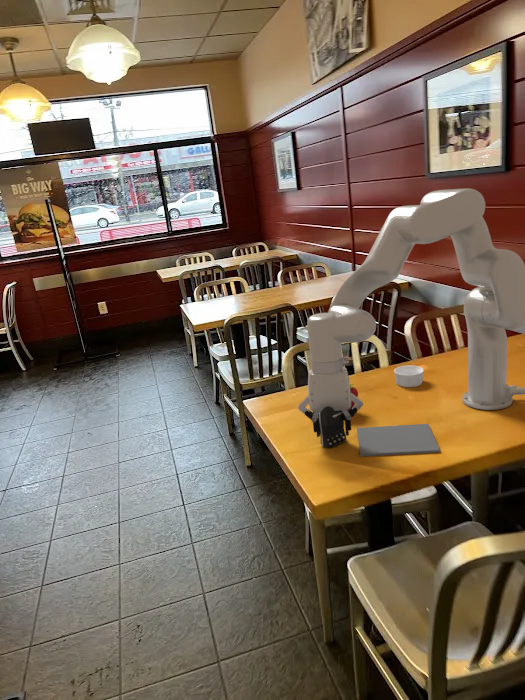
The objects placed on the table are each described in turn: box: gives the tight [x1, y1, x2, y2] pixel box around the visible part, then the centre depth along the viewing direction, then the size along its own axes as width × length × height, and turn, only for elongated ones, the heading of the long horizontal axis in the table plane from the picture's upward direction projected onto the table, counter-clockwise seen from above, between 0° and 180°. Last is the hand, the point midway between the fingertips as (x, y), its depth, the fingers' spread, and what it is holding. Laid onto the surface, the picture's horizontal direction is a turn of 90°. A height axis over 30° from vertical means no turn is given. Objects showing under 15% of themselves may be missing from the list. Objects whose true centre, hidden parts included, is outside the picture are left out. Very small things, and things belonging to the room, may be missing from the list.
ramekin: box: [393, 364, 425, 388], centre depth 161 cm, size 9×9×4 cm
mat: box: [356, 423, 441, 457], centre depth 127 cm, size 18×14×1 cm
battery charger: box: [318, 406, 347, 449], centre depth 127 cm, size 7×4×11 cm, turn 124°
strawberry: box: [349, 383, 359, 410], centre depth 144 cm, size 6×8×10 cm
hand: (332, 433), depth 128 cm, fingers closed on battery charger, 6 cm apart
